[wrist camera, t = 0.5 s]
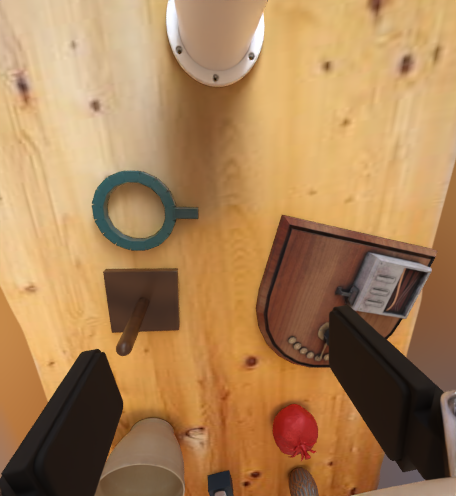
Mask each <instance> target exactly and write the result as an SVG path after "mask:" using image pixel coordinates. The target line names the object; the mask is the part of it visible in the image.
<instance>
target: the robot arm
mask: <svg viewBox="0 0 456 496" xmlns="http://www.w3.org/2000/svg"><path fill="white" fill-rule="evenodd" d="M267 2H268V0H169V1H168V6H167V11H166V27H167V35H168V39H169V43H170V46H171V49H172V51H173V54H174V56H175V58H176V60H177V61H178V63H179V65H180V66H181V67H182V68H183V70H184V71H185V72H186V73H187V74H188V75H189V76H191V77H192V78H193V79H195V80H196V81H198V82H200V83H202V84H205V85H208V86H214V87H222V86H228V85H231V84H234V83H235V82H237V81H239V80H241V79H242V78H243V77H244V76H245V75H246V74H247V73H248V72H249V71H250V70H251V68H252V67H253V66H254V64H255V62H256V60H257V58H258V56H259V53H260V51H261V48H262V44H263V39H264V15H263V12H264V9H265V7H266V4H267ZM178 51H181V54H178ZM249 57H251V58H252V60H249ZM214 78H216V79H217V81H216V82H215V81H214V80H213V79H214ZM329 365H330V368H331V370H332V372H333V373H334V375H335V376H336V378H337V379H338V381H339V383H340V384H341V386H342V387H343V389H344V390H345V392H346V393H347V395H348V396H349V398H350V400H351V401H352V403H353V404H354V406H355V407H356V409H357V410H358V412H359V413H360V415H361V417H362V418H363V420H364V421H365V423H366V424H367V426H368V427H369V429H370V430H371V432H372V434H373V435H374V437H375V438H376V440H377V441H378V443H379V444H380V446H381V447H382V449H383V451H384V452H385V454H386V455H387V456H388V458H389V459H390V460H392V461H396V463H397V464H398V466H399V467H400V469H401V470H402V472H406V471H411V470H416V469H417V470H418V472H419V473H420V474H421V476H422V477H423V478H424V479H425V480H426V481H421V482H416V483H410V484H405V485H400V486H395V487H390V488H385V489H379V490H374V491H370V492H365V493H360V494H356V495H351V496H456V390H449V391H447V392H443V391H442V390H441V389H440V388H439V387H438V386H437V385H435V384H434V383H433V382H432V381H431V380H430V379H429V378H428V377H427V376H426V375H425V374H424V373H422V372H421V371H420V370H419V369H418V368H417V367H416V366H415V365H414V364H413V363H412V362H410V361H409V360H408V359H407V358H406V357H405V356H404V355H403V354H402V353H401V352H400V351H399V350H397V349H396V348H395V347H394V346H393V345H392V344H391V343H390V342H389V341H388V340H387V339H385V338H384V337H383V336H382V335H380V334H379V333H378V332H377V331H376V330H375V329H374V328H373V327H372V326H371V325H370V324H368V323H367V322H366V321H365V320H364V319H363V318H362V317H361V316H360V315H359V314H358V313H357V312H355V311H354V310H353V309H352V308H351V307H350V306H349V305H343V306H337V307H334V308H333V309H332V311H330V313H329ZM122 410H123V400H122V397H121V395H120V392H119V389H118V387H117V384H116V381H115V378H114V376H113V373H112V370H111V368H110V365H109V362H108V360H107V357H106V354H105V353H104V352H101V351H100V350H99V349H95V350H90V351H84V352H82V353H81V354H80V355H79V357H78V358H77V360H76V361H75V363H74V364H73V366H72V367H71V369H70V370H69V372H68V373H67V375H66V376H65V378H64V379H63V381H62V382H61V384H60V385H59V387H58V388H57V390H56V391H55V393H54V394H53V396H52V398H51V399H50V401H49V402H48V404H47V405H46V407H45V408H44V410H43V411H42V413H41V414H40V416H39V417H38V419H37V420H36V422H35V423H34V425H33V426H32V428H31V429H30V431H29V432H28V434H27V435H26V437H25V439H24V440H23V441H22V443H21V445H20V446H19V448H18V449H17V451H16V452H15V454H14V455H13V457H12V458H11V460H10V462H9V463H8V464H7V466H6V467H5V469H4V470H3V472H2V473H1V474H2V477H1V478H0V496H95V493H96V490H97V487H98V484H99V481H100V478H101V474H102V471H103V468H104V465H105V462H106V459H107V456H108V453H109V450H110V447H111V444H112V441H113V438H114V435H115V432H116V429H117V426H118V423H119V420H120V417H121V414H122Z"/></svg>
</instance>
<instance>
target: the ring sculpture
mask: <svg viewBox="0 0 456 496" xmlns="http://www.w3.org/2000/svg"><path fill="white" fill-rule="evenodd" d="M208 492H209V495H210V496H234V495H233V485H232V478H231V475H230V472H229V470H228V471H224V472H220V473H216V474H212V475H208Z"/></svg>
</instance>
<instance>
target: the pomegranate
mask: <svg viewBox="0 0 456 496" xmlns="http://www.w3.org/2000/svg"><path fill="white" fill-rule="evenodd" d="M273 436H274V439H275V442H276V444H277V446H278V447H279V449H280V450H281V451H282V452H283V453H284V454H288V455H292V456H291V457H295V456H296V455H298V454H301V456H302V460H303V458H304V456H305V459H310V458H311V457H310V455H309V454H308V453H307V451H310V452H312V453H315V452H316V451H313V450H311V448H312V447H313V445H314V444H315V443H316V441H317V438H318V427H317V423H316V421H315V419H314V417H313V416H312V415H311V414H310V413H309V412H308V411H307V410H306V409H304V408H302V407H301V406H300V405H297V404H291V405H289V406H287V407H285V408H283V409H282V410H281V411H280V412H279V413H278V414H277V415H276V417H275V419H274V422H273ZM302 460H301V461H302Z"/></svg>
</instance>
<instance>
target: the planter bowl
mask: <svg viewBox="0 0 456 496" xmlns="http://www.w3.org/2000/svg"><path fill="white" fill-rule="evenodd" d="M184 492H185V481H184V462H183V456H182V452H181V448H180V445H179V443H178V441H177V439H176V437H175V435H174V431H173V428H172V426H171V425H170V424H169V423H168V422H166V421H164V420H162V419H158V418H148V419H144V420H141V421H139V422H137V423H136V424H135V425H134V426H133V427H132V429H131V431H130V432H129V433H128V434H126V435H125V436H124V437H123V438H122V439H121V441H120V442H119V443H118V444H117V445H116V447H115V448H114V449H113V451H112V452H111V454H110V456H109V458H108V459H107V461H106V463H105V465H104V468H103V471H102V474H101V478H100V481H99V484H98V487H97V490H96V493H95V496H184Z"/></svg>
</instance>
